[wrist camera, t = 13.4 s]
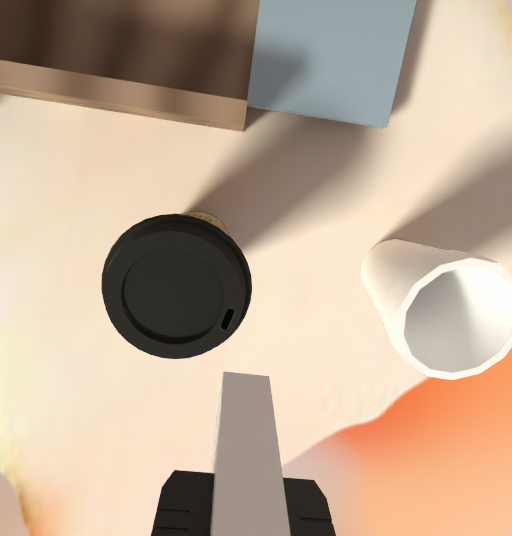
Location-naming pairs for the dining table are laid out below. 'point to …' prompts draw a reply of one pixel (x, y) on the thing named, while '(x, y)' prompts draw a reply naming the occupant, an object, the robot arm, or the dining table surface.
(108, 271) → the coffee cup
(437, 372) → the foam cup
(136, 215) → the dining table surface
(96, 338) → the dining table surface
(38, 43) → the crate
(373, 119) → the blue gray square panel
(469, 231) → the dining table surface
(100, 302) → the dining table surface
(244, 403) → the robot arm
